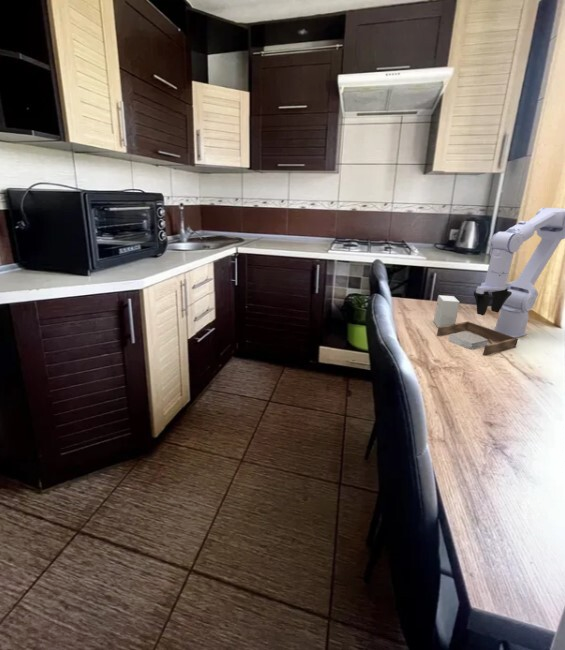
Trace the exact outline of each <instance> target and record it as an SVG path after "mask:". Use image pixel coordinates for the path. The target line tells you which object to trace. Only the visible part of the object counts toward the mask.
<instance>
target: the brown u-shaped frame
mask: <svg viewBox="0 0 565 650" xmlns="http://www.w3.org/2000/svg"><path fill="white" fill-rule="evenodd" d="M491 329H492V328H488V327H485V326H482V325H480V324H476V323H474V322H471V321H463V322H458V323H457V322H456V323H455V324H452V325H447V326H442V327H437V332H436V336H437V337H441V336H446V335H451V334H456V333H461V332H469V333H472V334H475V335H477V336H480V337H483V338H485V339H488V340H492V341H495V342H494V343H490V344H487V345H486V346H484V348H483V349H484V350H483V353H482V355H483V356H489V355H492V354H496V353H500V352H504V351H508V350H511V349H515V348H516V347H517V344H518V341H519V337H516V338H515V337H512V336H509V335H506V334H503V333H500V332H497V331H494V330H491Z"/></svg>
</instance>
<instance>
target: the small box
mask: <svg viewBox="0 0 565 650" xmlns="http://www.w3.org/2000/svg"><path fill="white" fill-rule="evenodd" d="M460 303H461V302H460V301H459V300H458V299H457V298H456V297H455V296H454V295H441V294H439V295H438V296H437V300H436V306H435V313H434V317H433V322H434V323H435V325H436V327H437V328H438V327H442V326H447V325H452V324H457V322H456V321H457V317H458V313H459V306H460Z"/></svg>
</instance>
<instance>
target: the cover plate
mask: <svg viewBox="0 0 565 650" xmlns="http://www.w3.org/2000/svg"><path fill="white" fill-rule="evenodd" d="M448 342H452V344H455V345H459V346H460V347H463V348H465V349H467V350H470V351H472V350H475V349H480V348H483V347H484V348H485V346H486V345H489V344H488V342H489V338H486V337H483V336H481V335H478V334H475V333H472V332H470V331H461V332H456V333H452V334H449V338H448Z"/></svg>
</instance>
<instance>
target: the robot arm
mask: <svg viewBox="0 0 565 650" xmlns="http://www.w3.org/2000/svg"><path fill="white" fill-rule="evenodd" d="M535 232H536V235H537V236H538V237H540V238H541V240H540V242H539V243H538V245H537V246H536V249H535V250H534V252H533V253H532V255H531V257H530V258H529V260H528V261H527V262H526V265H525V266H524V268H523V269H522V271H521V272H520V274H519V276H518V278H517V279H516V280H512V281H510V282H507V281H508V278H509V274H510V273H509V272H510V269H511V264H512V262H513V258H514V254H515V253H516V252H517V251H518V250H519V249H520V247H521V246H522V245H523V243H524V242H526V241H528V240H529V239H531V238H532V237H533V236H534V235H535ZM564 239H565V208H560V207H545V206H544V207H541V208H539V209H538V210H537V212H536V213H535V215H534V216H533V217H532V218H531V219H529V220H528V221H526V220H519V221H518V222H517V223H516V224H515V225H513V226H511V227H509V228H508V229H507V230H505V231H497V232H496V233H494V234H493V236H492V237H491V240H490V241H489V250H490V252H489V256H490V259H489V263H488V268H487V272H486V275H485V280H484V282H481V283H480V286H479V285H478V286H477V287H476V290H475V291H473V296H474V299H475V302H476V303H475V304H476V314H477V315H480V316H485V314H486V313H487V310H488V307H489V305H490V303H491V307H490V309H491V312H494V313H497V314H498V318H497V321H496V326H495V328H490V329H491V330H494V331H497V332H500V333H503V334H506V335H509V336H512V337H515V338H520V337H523V336H527V335H528V333H527V332H526V328H527V326H528V323H529V318H530V315H529V311H531V310H532V309H533V308H534V306H535V304H536V301H537V298H538V297H539V292H538V290H537V288H536V287H535V286H534V285H535V284H536V282H537V280H538V279H539V277H540V275H541V274H542V273H543V270H544V269H545V267H546V266H547V264H548V263H549V261H550V259H551V258H552V256H553V254H554V253H555V251H556V250H557V248H558V246H559V245H560V243H561V241H562V240H564ZM490 293H492V294H490Z"/></svg>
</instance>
